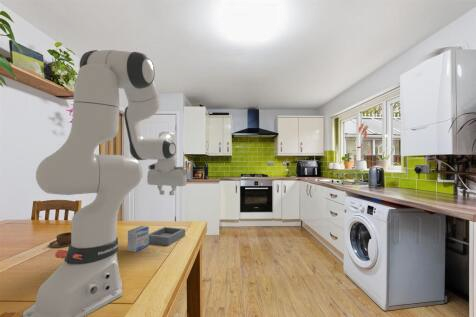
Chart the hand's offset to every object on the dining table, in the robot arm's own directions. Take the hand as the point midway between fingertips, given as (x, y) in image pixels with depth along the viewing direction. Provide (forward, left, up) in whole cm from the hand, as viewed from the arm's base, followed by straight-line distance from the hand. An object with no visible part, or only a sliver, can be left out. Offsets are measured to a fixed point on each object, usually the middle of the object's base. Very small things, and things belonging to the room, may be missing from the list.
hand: (166, 194), depth 114 cm
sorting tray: (0, 0, -21) cm, 21 cm away
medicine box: (-14, +4, -22) cm, 26 cm away
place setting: (-22, +36, -22) cm, 48 cm away
